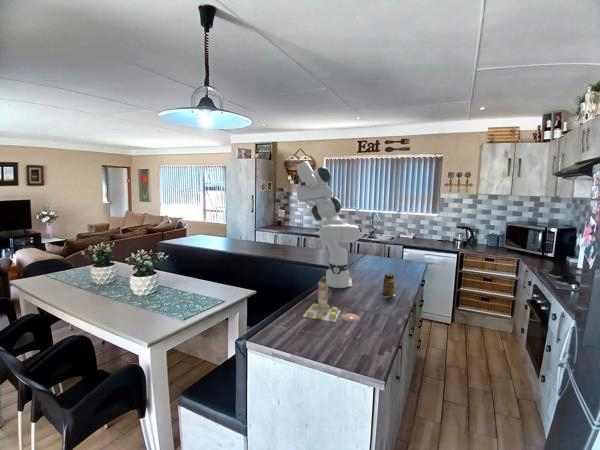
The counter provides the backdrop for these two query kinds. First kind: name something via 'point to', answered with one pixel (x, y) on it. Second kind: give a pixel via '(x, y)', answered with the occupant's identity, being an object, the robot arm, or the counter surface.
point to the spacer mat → (325, 317)
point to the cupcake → (328, 293)
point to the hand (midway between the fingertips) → (319, 205)
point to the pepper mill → (322, 295)
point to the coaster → (350, 317)
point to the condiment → (388, 286)
